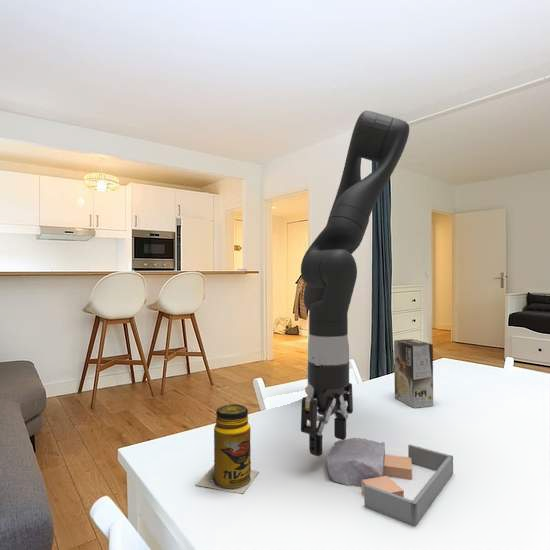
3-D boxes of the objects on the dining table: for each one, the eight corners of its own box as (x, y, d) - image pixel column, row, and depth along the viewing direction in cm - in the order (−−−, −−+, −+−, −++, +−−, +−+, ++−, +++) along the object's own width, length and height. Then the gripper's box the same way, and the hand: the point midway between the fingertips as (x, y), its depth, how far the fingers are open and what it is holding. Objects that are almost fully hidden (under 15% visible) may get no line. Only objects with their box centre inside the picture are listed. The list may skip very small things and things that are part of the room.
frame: (364, 506, 58) (364, 485, 58) (409, 460, 73) (409, 444, 73) (415, 526, 54) (415, 504, 54) (453, 473, 68) (452, 455, 68)
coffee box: (434, 406, 103) (434, 344, 103) (413, 408, 101) (413, 345, 101) (413, 395, 112) (412, 338, 112) (393, 397, 110) (392, 339, 110)
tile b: (383, 477, 67) (383, 465, 67) (384, 465, 72) (384, 454, 72) (411, 481, 66) (411, 469, 66) (411, 469, 70) (411, 457, 70)
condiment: (243, 494, 62) (242, 417, 62) (194, 486, 64) (194, 412, 64) (259, 472, 69) (258, 403, 69) (214, 465, 71) (214, 398, 71)
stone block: (326, 493, 65) (388, 489, 62) (320, 463, 66) (382, 458, 63) (335, 463, 77) (388, 458, 74) (330, 438, 77) (383, 432, 74)
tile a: (361, 492, 62) (361, 479, 62) (387, 488, 63) (387, 475, 63) (376, 508, 58) (376, 495, 58) (403, 503, 59) (403, 490, 59)
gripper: (330, 349, 81) (331, 429, 81) (288, 362, 70) (289, 454, 70) (364, 354, 76) (364, 438, 76) (325, 369, 65) (325, 467, 65)
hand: (328, 446), depth 73 cm, fingers open, 8 cm apart
